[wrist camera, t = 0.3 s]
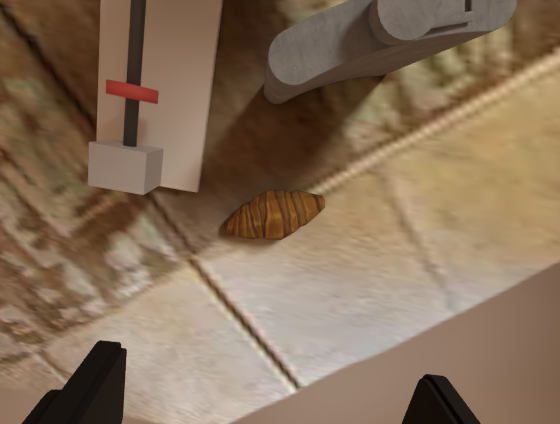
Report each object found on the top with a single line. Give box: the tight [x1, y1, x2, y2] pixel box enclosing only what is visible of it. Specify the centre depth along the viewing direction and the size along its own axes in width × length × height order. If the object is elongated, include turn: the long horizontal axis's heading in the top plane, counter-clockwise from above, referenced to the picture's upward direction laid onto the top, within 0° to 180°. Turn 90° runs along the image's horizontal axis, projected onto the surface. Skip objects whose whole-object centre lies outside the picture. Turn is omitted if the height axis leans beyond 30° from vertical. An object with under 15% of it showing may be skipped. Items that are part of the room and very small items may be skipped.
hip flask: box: [264, 0, 517, 104], centre depth 25 cm, size 16×4×20 cm, turn 105°
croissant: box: [224, 190, 325, 240], centre depth 37 cm, size 14×7×5 cm, turn 104°
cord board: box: [88, 0, 223, 195], centre depth 28 cm, size 30×12×10 cm, turn 169°
